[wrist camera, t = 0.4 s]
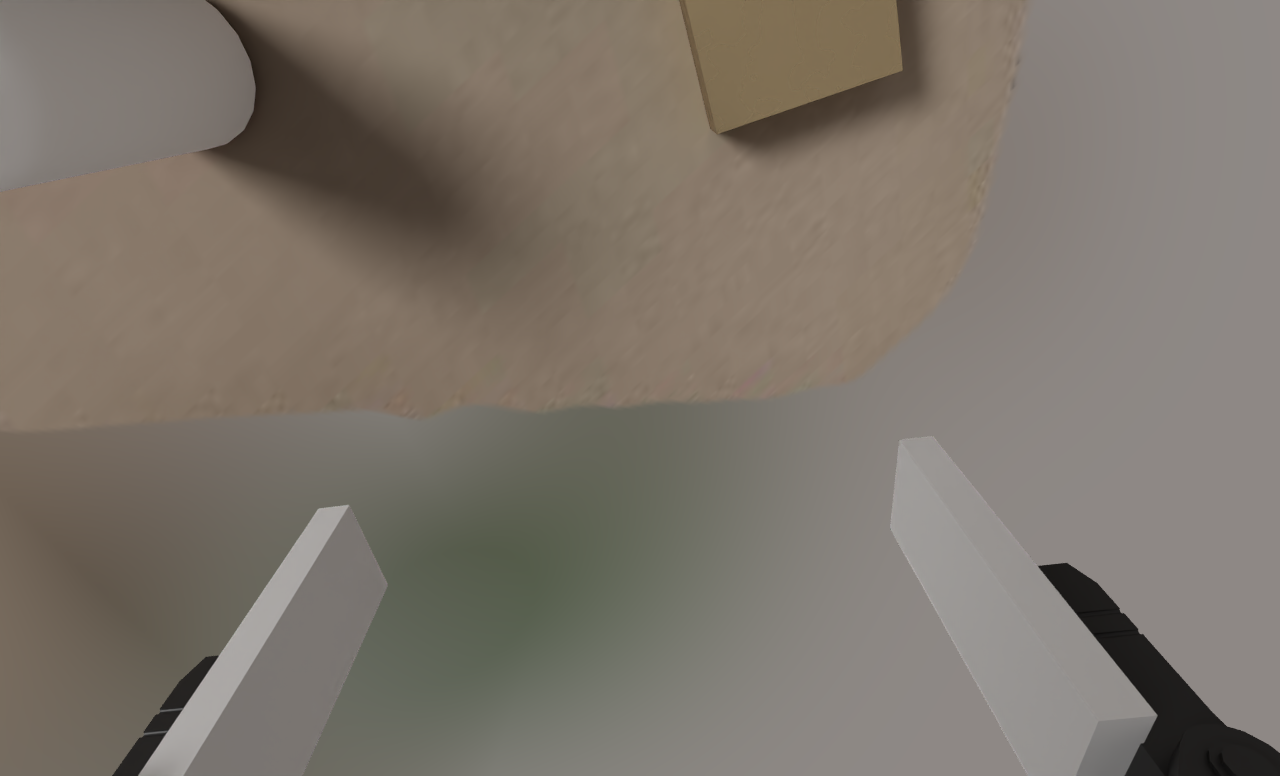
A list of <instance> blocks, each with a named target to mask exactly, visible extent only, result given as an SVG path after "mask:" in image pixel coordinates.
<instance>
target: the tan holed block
mask: <svg viewBox="0 0 1280 776" xmlns="http://www.w3.org/2000/svg"><path fill="white" fill-rule="evenodd" d="M679 1H680V6H681V10H682V14H683V18H684V22H685V26H686V30H687V34H688V39H689V43H690V47H691V51H692V55H693V59H694V63H695V67H696V72H697V76H698V80H699V84H700V88H701V92H702V96H703V100H704V105H705V109H706V113H707V117H708V121H709V125H710V129H711V130H712V131H714V132H715V133H716V134H719V133H722V132H725V131H728V130H731V129H734V128H737V127H740V126H743V125H746V124H748V123H751V122H754V121H757V120H760V119H763V118H766V117H769V116H772V115H775V114H778V113H781V112H783V111H786V110H789V109H792V108H795V107H798V106H801V105H804V104H807V103H810V102H813V101H816V100H818V99H821V98H824V97H827V96H830V95H833V94H836V93H839V92H842V91H845V90H848V89H851V88H853V87H856V86H859V85H862V84H865V83H868V82H871V81H874V80H877V79H880V78H883V77H885V76H888V75H891V74H894V73H897V72H900V71H903V66H902V56H901V45H900V34H899V23H898V13H897V2H896V0H679Z"/></svg>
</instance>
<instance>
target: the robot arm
mask: <svg viewBox="0 0 1280 776" xmlns="http://www.w3.org/2000/svg"><path fill="white" fill-rule="evenodd" d="M890 530H891V531H892V533H893V535H894V537H895V539H896V540H897V542H898V544H899V546H900V547H901V549H902V551H903V553H904V555H905V556H906V558H907V560H908V562H909V563H910V565H911V567H912V569H913V571H914V573H915V574H916V576H917V578H918V580H919V582H920V583H921V585H922V587H923V589H924V591H925V592H926V594H927V596H928V598H929V600H930V601H931V603H932V605H933V607H934V608H935V610H936V612H937V614H938V616H939V617H940V619H941V621H942V623H943V625H944V627H945V628H946V630H947V632H948V634H949V635H950V637H951V639H952V641H953V643H954V644H955V646H956V648H957V650H958V652H959V653H960V655H961V657H962V659H963V660H964V662H965V664H966V666H967V668H968V670H969V671H970V673H971V675H972V677H973V678H974V680H975V682H976V684H977V686H978V688H979V689H980V691H981V693H982V695H983V696H984V698H985V700H986V702H987V704H988V706H989V707H990V709H991V711H992V713H993V714H994V716H995V718H996V720H997V722H998V723H999V725H1000V727H1001V729H1002V730H1003V732H1004V734H1005V736H1006V738H1007V740H1008V741H1009V743H1010V745H1011V747H1012V749H1013V750H1014V752H1015V754H1016V756H1017V758H1018V759H1019V761H1020V763H1021V765H1022V766H1023V768H1024V770H1025V772H1026V774H1027V776H1280V753H1279V752H1278V751H1276V750H1275V749H1274V748H1273V747H1271V746H1270V745H1268V744H1266V743H1265V742H1263V741H1261V740H1259V739H1257V738H1255V737H1253V736H1251V735H1250V734H1247V733H1246V732H1243V731H1241V730H1237V729H1234V728H1230V727H1227V726H1226V725H1225V724H1224V723H1223V722H1222V721H1221V720H1220V719H1219V718H1218V717H1217V716H1216V715H1215V714H1214V713H1212V711H1211V710H1210V709H1209V708H1208V707H1207V706H1206V705H1205V704H1204V703H1203V701H1202V700H1201V699H1200V698H1199V697H1198V696H1197V695H1196V694H1195V692H1194V691H1193V690H1192V689H1191V688H1190V687H1189V686H1188V684H1187V683H1186V682H1185V681H1184V680H1183V679H1182V678H1181V677H1180V675H1179V674H1178V673H1177V672H1176V671H1175V670H1174V669H1173V668H1172V667H1171V665H1170V664H1169V663H1168V662H1167V661H1166V660H1165V659H1164V658H1163V656H1162V655H1161V654H1160V653H1159V652H1158V651H1157V650H1156V649H1155V647H1154V646H1153V645H1152V644H1151V643H1150V642H1149V641H1148V640H1147V638H1146V637H1145V636H1144V635H1143V634H1139V632H1138V628H1137V627H1136V626H1135V625H1134V624H1133V623H1132V622H1131V621H1130V619H1129V618H1128V617H1127V616H1126V615H1125V614H1124V613H1123V614H1122V613H1121V612H1120V610H1119V609H1120V608H1119V607H1118V606H1117V605H1116V604H1115V603H1114V601H1113V600H1112V599H1111V598H1110V597H1109V596H1108V595H1107V594H1106V593H1105V591H1104V590H1103V589H1102V588H1101V587H1100V586H1099V585H1098V583H1096V582H1095V581H1093V580H1092V579H1090V578H1089V577H1087V576H1086V575H1084V574H1083V573H1081V572H1080V571H1078V570H1077V569H1075V568H1074V567H1072V566H1071V565H1069V564H1068V563H1061V564H1052V565H1043V566H1037V565H1036V564H1035V562H1034V561H1033V560H1032V559H1031V557H1030V556H1029V555H1028V554H1027V553H1026V551H1025V550H1024V549H1023V547H1022V546H1021V545H1020V544H1019V543H1018V541H1017V540H1016V539H1015V538H1014V536H1013V535H1012V534H1011V533H1010V531H1009V530H1008V529H1007V528H1006V526H1005V525H1004V524H1003V523H1002V521H1001V520H1000V519H999V518H998V516H997V515H996V514H995V513H994V511H993V510H992V509H991V508H990V507H989V505H988V504H987V503H986V502H985V500H984V499H983V498H982V497H981V495H980V494H979V493H978V492H977V490H976V489H975V488H974V487H973V485H972V484H971V483H970V482H969V480H968V479H967V478H966V477H965V476H964V474H963V473H962V472H961V470H960V469H959V468H958V467H957V465H956V464H955V463H954V462H953V461H952V459H951V458H950V457H949V455H948V454H947V453H946V452H945V451H944V449H943V448H942V447H941V446H940V444H939V443H938V442H937V441H936V439H935V438H934V437H933V436H928V437H919V438H911V439H903V440H899V447H898V457H897V466H896V476H895V486H894V496H893V507H892V515H891V526H890ZM387 586H388V584H387V582H386V580H385V578H384V576H383V574H382V571H381V569H380V567H379V566H378V564H377V561H376V559H375V557H374V555H373V553H372V551H371V549H370V547H369V545H368V543H367V541H366V538H365V536H364V534H363V532H362V530H361V528H360V526H359V524H358V522H357V520H356V518H355V516H354V514H353V511H352V509H351V507H350V505H345V506H336V507H329V508H319V509H318V510H317V512H316V514H315V515H314V516H313V518H312V519H311V521H310V522H309V524H308V525H307V527H306V528H305V530H304V531H303V533H302V534H301V536H300V537H299V538H298V540H297V541H296V543H295V544H294V546H293V547H292V549H291V550H290V552H289V553H288V555H287V556H286V558H285V559H284V561H283V562H282V564H281V565H280V567H279V568H278V570H277V571H276V573H275V574H274V576H273V577H272V578H271V580H270V581H269V583H268V584H267V586H266V587H265V589H264V591H263V592H262V593H261V595H260V596H259V598H258V599H257V601H256V602H255V604H254V605H253V607H252V608H251V609H250V611H249V612H248V614H247V615H246V617H245V619H244V620H243V621H242V623H241V625H240V626H239V627H238V629H237V630H236V632H235V633H234V635H233V636H232V638H231V639H230V641H229V642H228V644H227V645H226V646H225V648H224V649H223V651H222V652H221V654H220V655H219V656H211V657H205V658H204V659H203V660H202V661H201V662H200V663H199V664H198V665H197V666H196V667H195V668H194V669H192V670H191V671H190V672H189V673H188V674H187V675H186V676H185V677H184V678H183V679H182V680H181V681H180V682H179V683H178V684H177V686H176V687H175V688H174V690H173V691H172V693H171V694H170V696H169V697H168V698H167V700H166V701H165V703H164V704H163V705H162V707H161V708H160V713H159V714H158V715H155V717H154V718H153V719H152V721H151V722H150V724H149V725H148V726H147V728H146V729H145V731H144V736H143V737H142V738H139V739H138V740H137V742H136V743H135V745H134V746H133V747H132V749H131V750H130V752H129V753H128V754H127V756H126V757H125V759H124V760H123V761H122V763H121V764H120V766H119V767H118V769H117V770H116V771H115V773H114V774H113V776H303V773H304V771H305V768H306V767H307V764H308V762H309V760H310V758H311V756H312V753H313V751H314V749H315V747H316V744H317V742H318V740H319V738H320V735H321V733H322V731H323V729H324V726H325V724H326V722H327V720H328V717H329V715H330V713H331V711H332V709H333V706H334V704H335V702H336V700H337V698H338V695H339V693H340V691H341V689H342V686H343V684H344V682H345V680H346V677H347V675H348V673H349V670H350V668H351V666H352V664H353V662H354V660H355V657H356V655H357V653H358V651H359V648H360V646H361V644H362V642H363V639H364V637H365V635H366V633H367V631H368V628H369V626H370V624H371V621H372V619H373V617H374V615H375V613H376V610H377V608H378V606H379V604H380V602H381V599H382V597H383V595H384V593H385V590H386V588H387Z"/></svg>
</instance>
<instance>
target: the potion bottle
mask: <svg viewBox="0 0 1280 776" xmlns="http://www.w3.org/2000/svg"><path fill="white" fill-rule="evenodd" d="M255 92H256V86H255V81H254V76H253V71H252V66H251V61H250V59H249V57H248V55H247V53H246V51H245V49H244V47H243V45H242V43H241V41H240V38H239V36H238V34H237V33H236V32H235V31H234V29H233V28H232V27H231V26H230V24H229V23H228V22H227V21H226V20H225V18H224V17H223V16H222V15H221V13H220V12H219V11H218V10H217V9H216V8H215V7H213V6H212V5H211V4H209V3H208V2H207V1H206V0H0V192H2V191H7V190H11V189H16V188H21V187H26V186H31V185H36V184H41V183H46V182H51V181H55V180H60V179H65V178H70V177H75V176H80V175H85V174H90V173H95V172H99V171H104V170H109V169H114V168H119V167H124V166H129V165H134V164H139V163H144V162H148V161H153V160H158V159H163V158H168V157H173V156H178V155H183V154H188V153H192V152H197V151H202V150H207V149H211V148H214V147H218V146H222V145H225V144H227V143H229V142H230V141H231V140H232V139H234V138H235V137H236V136H237V135H239V134H240V133H241V132H242V131H244V129H245V127H246V125H247V123H248V121H249V119H250V117H251V115H252V113H253V111H254V102H255Z"/></svg>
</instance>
